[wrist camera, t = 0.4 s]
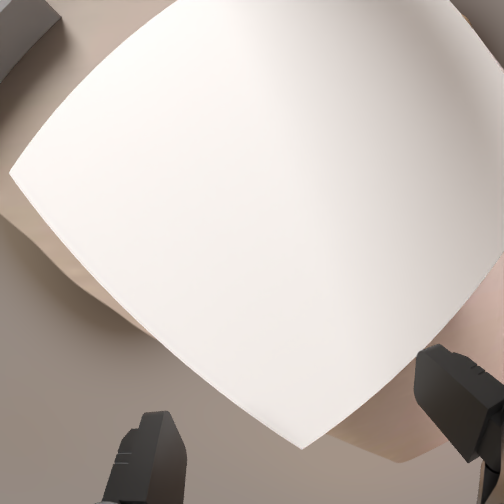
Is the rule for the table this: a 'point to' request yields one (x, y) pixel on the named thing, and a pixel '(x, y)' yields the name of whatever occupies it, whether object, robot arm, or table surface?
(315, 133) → the cube
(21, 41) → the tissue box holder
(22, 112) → the table surface
